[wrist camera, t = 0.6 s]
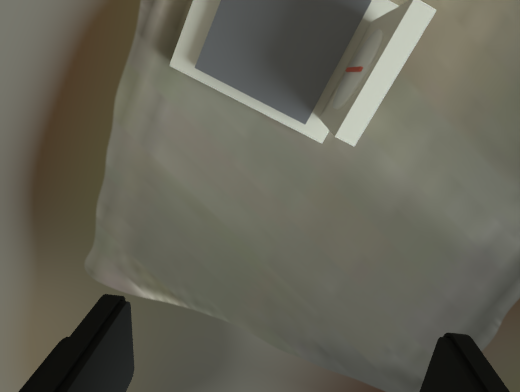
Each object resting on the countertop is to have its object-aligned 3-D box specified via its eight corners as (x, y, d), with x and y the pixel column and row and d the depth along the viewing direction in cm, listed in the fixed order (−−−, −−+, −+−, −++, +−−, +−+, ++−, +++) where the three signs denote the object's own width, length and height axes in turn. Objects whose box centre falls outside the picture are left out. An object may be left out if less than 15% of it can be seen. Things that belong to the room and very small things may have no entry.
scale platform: (251, -55, 29) (248, -70, 26) (362, 8, 30) (371, 0, 27) (202, 68, 33) (194, 67, 30) (302, 119, 34) (305, 124, 31)
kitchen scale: (231, -77, 29) (197, -183, 17) (388, 12, 31) (458, -27, 19) (178, 66, 34) (121, 62, 22) (318, 137, 35) (338, 172, 23)
